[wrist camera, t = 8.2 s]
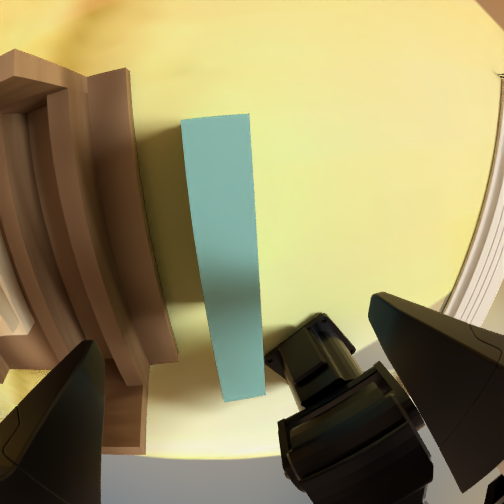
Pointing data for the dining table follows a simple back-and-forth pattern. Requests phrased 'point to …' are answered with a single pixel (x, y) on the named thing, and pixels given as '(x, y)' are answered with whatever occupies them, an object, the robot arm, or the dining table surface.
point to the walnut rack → (80, 234)
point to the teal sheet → (227, 247)
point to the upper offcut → (7, 316)
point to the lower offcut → (14, 292)
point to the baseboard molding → (483, 248)
